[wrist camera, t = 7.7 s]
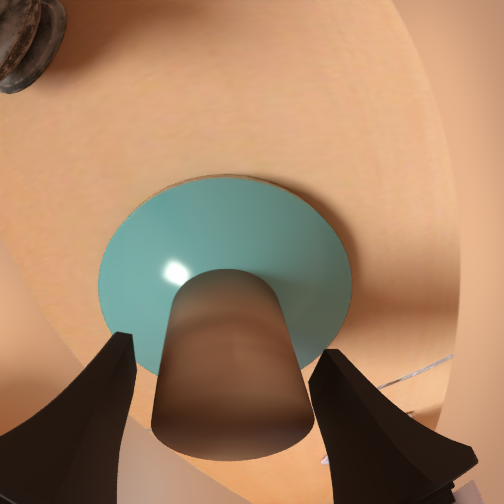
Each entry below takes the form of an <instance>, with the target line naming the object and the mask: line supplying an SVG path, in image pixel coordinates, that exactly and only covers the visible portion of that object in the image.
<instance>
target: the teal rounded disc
mask: <svg viewBox="0 0 504 504" xmlns="http://www.w3.org/2000/svg"><path fill="white" fill-rule="evenodd" d="M216 269H237V270H241V271H245V272H248V273H251V274H253V275H256V276H258V277H259V278H261V279H262V280H264V281H265V282H266V283H267V284H268V285H269V286H270V287H271V288H272V289H273V290H274V292H275V294H276V295H277V298H278V300H279V303H280V306H281V309H282V313H283V316H284V319H285V322H286V325H287V328H288V332H289V335H290V338H291V341H292V344H293V348H294V351H295V354H296V357H297V361H298V364H299V367H300V370H301V369H303V368H304V367H306V366H307V365H308V364H310V363H311V362H312V361H314V360H315V359H316V358H317V357H318V356H319V355H320V354H321V353H322V352H323V351H324V349H326V348H327V347H328V346H329V345H330V343H331V342H332V341H333V339H334V338H335V336H336V335H337V333H338V332H339V330H340V328H341V326H342V324H343V322H344V320H345V317H346V315H347V312H348V309H349V304H350V300H351V292H352V277H351V268H350V264H349V260H348V256H347V254H346V251H345V249H344V247H343V245H342V242H341V241H340V239H339V237H338V236H337V234H336V233H335V231H334V230H333V228H332V227H331V226H330V225H329V224H328V223H327V222H326V221H325V219H324V218H323V217H322V216H321V215H320V214H319V213H318V212H317V211H316V210H315V209H314V208H313V207H312V206H311V205H309V204H308V203H307V202H305V201H304V200H303V199H302V198H300V197H299V196H298V195H296V194H294V193H292V192H291V191H289V190H287V189H285V188H284V187H281V186H279V185H276V184H274V183H271V182H269V181H266V180H262V179H258V178H254V177H249V176H242V175H231V174H222V175H207V176H201V177H196V178H191V179H187V180H184V181H182V182H179V183H176V184H173V185H171V186H169V187H167V188H165V189H163V190H161V191H159V192H157V193H155V194H154V195H152V196H151V197H150V198H148V199H147V200H146V201H144V202H143V203H142V204H140V205H139V206H138V207H137V208H136V209H135V210H134V211H133V212H132V213H131V214H130V215H129V216H128V218H127V219H126V220H125V221H124V222H123V223H122V224H121V226H120V227H119V228H118V230H117V231H116V233H115V234H114V236H113V237H112V238H111V240H110V242H109V244H108V246H107V248H106V251H105V253H104V255H103V259H102V262H101V266H100V270H99V279H98V292H99V301H100V306H101V310H102V313H103V316H104V319H105V321H106V324H107V326H108V328H109V330H110V331H111V333H112V335H113V334H114V333H115V332H117V331H118V332H123V333H129V334H133V343H134V352H135V359H136V362H137V363H138V364H140V365H141V366H142V367H144V368H145V369H147V370H148V371H150V372H152V373H153V374H155V375H157V376H158V373H159V367H160V361H161V356H162V350H163V345H164V340H165V334H166V329H167V324H168V319H169V315H170V310H171V305H172V302H173V299H174V296H175V295H176V293H177V291H178V290H179V289H180V287H181V286H182V285H183V284H184V283H185V282H187V281H188V280H190V279H191V278H193V277H195V276H196V275H198V274H201V273H203V272H207V271H211V270H216Z"/></svg>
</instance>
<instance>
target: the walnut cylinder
mask: <svg viewBox="0 0 504 504" xmlns="http://www.w3.org/2000/svg"><path fill="white" fill-rule="evenodd" d="M314 421H315V418H314V413H313V409H312V406H311V403H310V400H309V396H308V393H307V390H306V387H305V383H304V380H303V377H302V374H301V370H300V367H299V364H298V361H297V357H296V354H295V351H294V348H293V344H292V341H291V338H290V335H289V332H288V328H287V325H286V322H285V319H284V316H283V313H282V309H281V306H280V303H279V300H278V298H277V295H276V294H275V292H274V290H273V289H272V288H271V287H270V286H269V285H268V284H267V283H266V282H265V281H264V280H262V279H261V278H259V277H258V276H256V275H253V274H251V273H248V272H245V271H241V270H237V269H216V270H211V271H207V272H203V273H201V274H198V275H196V276H195V277H193V278H191V279H190V280H188V281H187V282H185V283H184V284H183V285H182V286H181V287H180V289H179V290H178V291H177V293H176V295H175V296H174V299H173V302H172V305H171V310H170V315H169V319H168V324H167V329H166V334H165V340H164V345H163V350H162V356H161V361H160V367H159V373H158V379H157V385H156V391H155V398H154V405H153V412H152V419H151V428H152V431H153V433H154V435H155V436H156V437H157V439H158V440H159V441H161V442H162V443H163V444H164V445H166V446H167V447H169V448H171V449H173V450H175V451H177V452H179V453H182V454H185V455H188V456H191V457H195V458H200V459H205V460H213V461H242V460H251V459H257V458H261V457H266V456H269V455H272V454H275V453H278V452H281V451H283V450H285V449H288V448H290V447H291V446H293V445H295V444H297V443H298V442H300V441H301V440H302V439H303V438H305V437H306V436H307V434H308V433H309V432H310V431H311V429H312V427H313V425H314Z"/></svg>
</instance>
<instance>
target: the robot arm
mask: <svg viewBox="0 0 504 504" xmlns="http://www.w3.org/2000/svg"><path fill="white" fill-rule="evenodd" d="M136 374H137V367H136V359H135V352H134V343H133V334H129V333H123V332H118V331H117V332H115V333H114V334H113V335H112V337H111V338H110V339H109V340H108V342H107V343H106V344H105V345H104V347H103V348H102V349H101V350H100V351H99V353H98V354H97V355H96V356H95V357H94V359H93V360H92V361H91V362H90V363H89V364H88V365H87V366H86V368H85V369H84V370H83V371H82V372H81V373H80V374H79V375H78V376H77V377H76V378H75V379H74V380H73V382H71V383H70V384H69V386H68V387H67V388H66V389H64V390H63V391H62V392H61V393H60V394H59V395H58V396H57V397H56V398H55V399H54V400H52V401H51V402H50V403H49V404H48V405H46V406H45V407H44V408H43V409H41V410H40V411H39V412H37V413H36V414H35V415H34V416H32V417H31V418H29V419H28V420H26V421H25V422H23V423H22V424H20V425H19V426H17V427H16V428H14V429H12V430H11V431H9V432H7V433H5V434H4V435H2V436H0V504H117V473H118V462H119V451H120V445H121V440H122V436H123V431H124V427H125V424H126V420H127V416H128V412H129V408H130V405H131V401H132V397H133V393H134V386H135V380H136ZM308 383H309V390H310V396H311V402H312V406H313V409H314V412H315V416H316V419H317V422H318V425H319V428H320V432H321V435H322V438H323V441H324V444H325V447H326V451H327V456H326V457H325V458H324V459H323V460H322V461H321V464H329V467H330V472H331V480H332V487H333V499H334V504H484V502H483V499H482V497H481V495H480V493H479V490H478V488H477V486H476V484H475V482H474V480H471V481H470V482H469V483H467V484H465V485H464V486H462V487H461V488H459V489H458V490H456V491H455V492H453V493H452V491H451V489H452V488H454V487H455V485H454V483H453V481H454V480H456V479H457V478H458V477H460V476H461V475H463V474H464V473H466V472H467V471H468V470H470V469H471V468H473V467H474V466H475V465H476V464H477V463H478V459H477V457H476V455H475V454H474V451H473V449H472V447H470V446H467V445H464V444H462V443H459V442H456V441H453V440H450V439H448V438H446V437H444V436H442V435H440V434H438V433H436V432H434V431H432V430H430V429H429V428H427V427H425V426H424V425H422V424H420V423H419V422H417V421H416V420H414V419H413V418H412V414H411V413H410V414H406V413H405V412H403V411H402V410H401V409H399V408H398V407H397V406H396V405H394V404H393V403H392V402H391V401H390V400H389V399H388V398H386V397H385V396H384V395H383V394H382V393H381V392H380V391H379V390H378V389H377V388H376V387H375V386H374V385H373V384H372V383H371V382H370V381H369V380H368V379H367V378H366V377H365V376H364V375H363V374H362V373H361V372H360V371H359V370H358V369H357V368H356V367H355V366H354V365H353V364H352V363H351V362H350V361H349V360H348V359H347V358H346V356H345V355H344V354H343V353H342V352H341V351H340V350H338V349H324V351H323V353H322V355H321V357H320V359H319V361H318V363H317V365H316V367H315V369H314V371H313V373H312V375H311V377H310V379H309V381H308Z"/></svg>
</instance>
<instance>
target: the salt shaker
mask: <svg viewBox="0 0 504 504" xmlns="http://www.w3.org/2000/svg"><path fill="white" fill-rule="evenodd" d="M66 17H67V15H66V11H65V8H64V6H63V4H62V3H61V2H60V1H59V0H0V92H1V93H7V94H11V93H15V92H19V91H21V90H23V89H24V88H26V87H28V86H29V85H31V84H32V83H33V82H34V81H35V80H36V79H37V78H38V77H39V76H40V75H41V74H42V73H43V71H44V70H45V69H46V68H47V67H48V65H49V64H50V62H51V61H52V59H53V57H54V56H55V54H56V53H57V50H58V48H59V46H60V44H61V41H62V39H63V36H64V32H65V28H66Z"/></svg>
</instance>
